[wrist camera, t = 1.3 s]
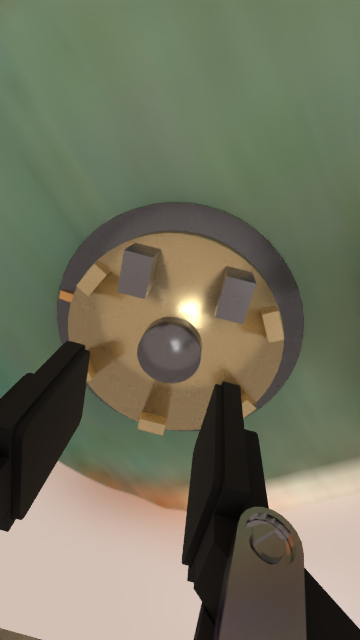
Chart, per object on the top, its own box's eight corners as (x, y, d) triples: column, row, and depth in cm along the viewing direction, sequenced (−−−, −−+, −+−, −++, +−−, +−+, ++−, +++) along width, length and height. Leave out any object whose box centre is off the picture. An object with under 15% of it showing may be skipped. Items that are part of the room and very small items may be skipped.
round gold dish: (243, 435, 32) (246, 477, 28) (69, 389, 33) (44, 423, 28) (312, 261, 25) (333, 279, 21) (88, 205, 26) (60, 210, 21)
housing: (314, 197, 25) (320, 198, 24) (288, 426, 33) (291, 438, 32) (43, 206, 28) (33, 207, 26) (82, 416, 36) (76, 426, 35)
